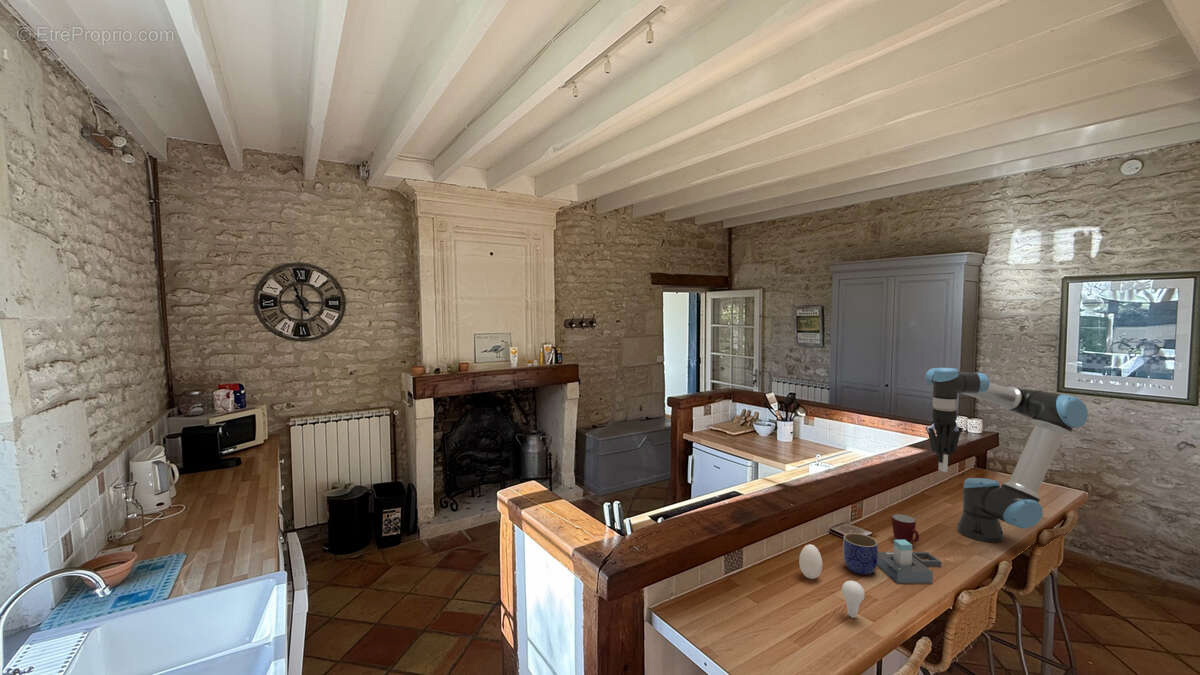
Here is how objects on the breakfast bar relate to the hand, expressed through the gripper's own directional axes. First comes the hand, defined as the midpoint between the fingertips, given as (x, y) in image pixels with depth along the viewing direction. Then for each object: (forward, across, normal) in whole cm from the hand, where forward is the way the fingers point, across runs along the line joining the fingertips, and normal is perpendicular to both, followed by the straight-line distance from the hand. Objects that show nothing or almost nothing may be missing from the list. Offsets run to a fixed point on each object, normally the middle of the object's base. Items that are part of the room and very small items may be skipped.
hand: (942, 470), depth 184 cm
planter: (+32, +37, +11) cm, 50 cm away
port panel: (+32, +23, +13) cm, 42 cm away
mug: (+33, +8, -8) cm, 34 cm away
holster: (+32, +10, +6) cm, 34 cm away
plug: (+32, +23, +13) cm, 42 cm away
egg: (+32, +57, +16) cm, 67 cm away
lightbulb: (+32, +54, +38) cm, 74 cm away
